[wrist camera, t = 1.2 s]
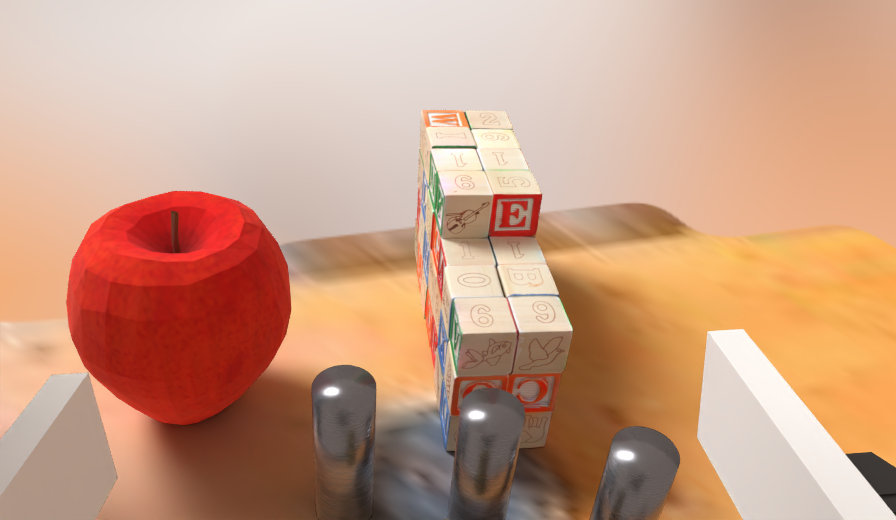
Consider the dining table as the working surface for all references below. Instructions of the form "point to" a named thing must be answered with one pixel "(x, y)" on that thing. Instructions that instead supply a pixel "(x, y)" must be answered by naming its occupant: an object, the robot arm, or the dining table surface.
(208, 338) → the apple
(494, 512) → the spacer posts
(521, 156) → the stack of blocks
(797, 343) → the dining table surface
